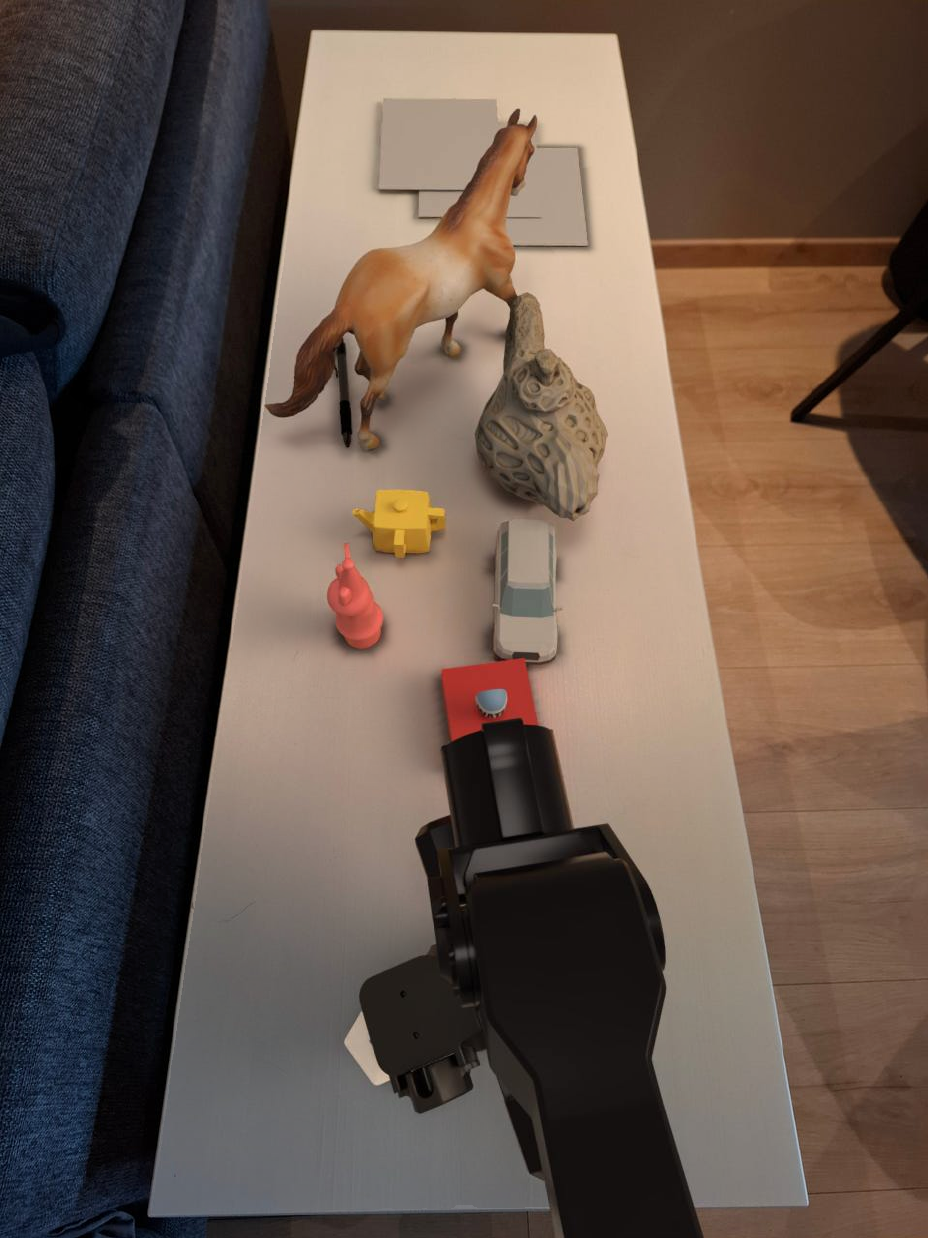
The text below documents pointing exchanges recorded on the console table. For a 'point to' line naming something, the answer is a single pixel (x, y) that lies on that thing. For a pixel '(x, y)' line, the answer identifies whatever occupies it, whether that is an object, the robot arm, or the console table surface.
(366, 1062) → the white pentagonal vase
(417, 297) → the horse figurine
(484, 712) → the red box
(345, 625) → the figurine
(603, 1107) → the robot arm
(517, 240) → the paper stack
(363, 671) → the console table surface
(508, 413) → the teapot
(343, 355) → the pen
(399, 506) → the teapot
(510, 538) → the toy car
